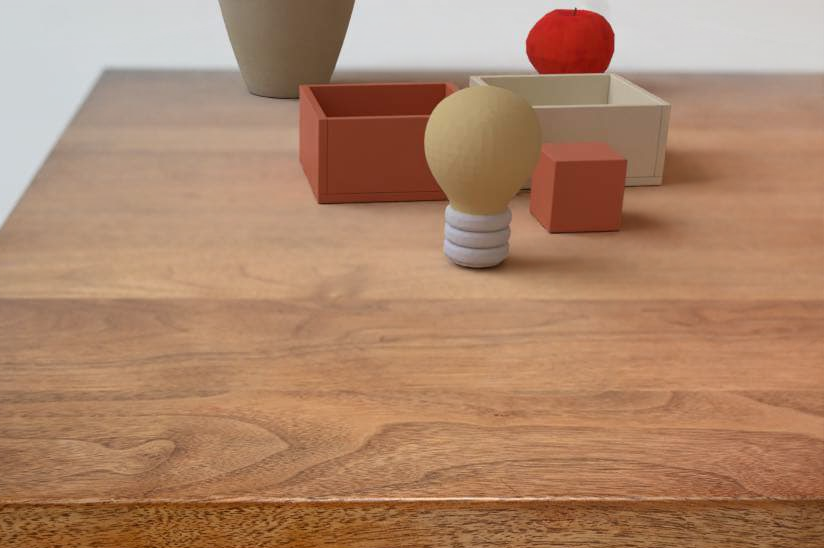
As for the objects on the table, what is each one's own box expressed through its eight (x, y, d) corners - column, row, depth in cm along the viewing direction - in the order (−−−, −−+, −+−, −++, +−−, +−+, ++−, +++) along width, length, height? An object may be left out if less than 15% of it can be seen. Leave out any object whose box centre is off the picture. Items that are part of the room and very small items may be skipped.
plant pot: (184, 82, 120) (178, -96, 113) (326, 70, 125) (328, -100, 119) (240, 113, 107) (237, -84, 101) (395, 99, 113) (401, -89, 106)
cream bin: (607, 145, 97) (615, 72, 95) (661, 185, 87) (671, 104, 84) (465, 149, 96) (469, 75, 94) (503, 189, 86) (508, 108, 83)
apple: (507, 89, 116) (513, 7, 113) (550, 77, 122) (556, -2, 119) (585, 101, 112) (593, 16, 109) (626, 88, 117) (634, 6, 114)
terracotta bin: (447, 156, 94) (451, 81, 92) (484, 198, 84) (489, 115, 81) (299, 160, 93) (299, 84, 91) (317, 203, 83) (318, 119, 80)
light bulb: (396, 260, 72) (402, 86, 68) (467, 236, 76) (477, 70, 72) (483, 288, 68) (495, 104, 64) (554, 262, 72) (570, 87, 68)
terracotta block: (596, 209, 81) (603, 141, 80) (620, 230, 77) (628, 159, 76) (528, 211, 81) (534, 143, 79) (549, 233, 77) (555, 161, 75)
